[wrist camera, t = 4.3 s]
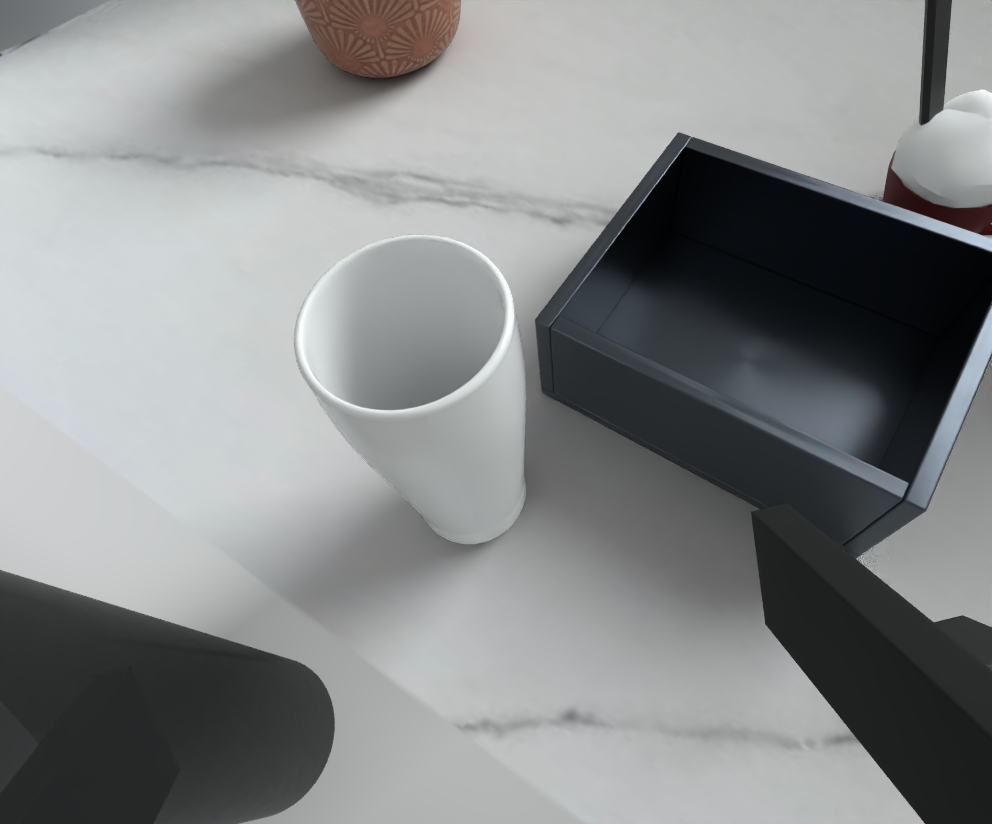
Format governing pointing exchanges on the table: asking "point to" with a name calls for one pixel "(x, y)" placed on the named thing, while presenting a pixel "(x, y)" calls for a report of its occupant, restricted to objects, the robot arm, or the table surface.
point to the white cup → (424, 377)
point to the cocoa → (944, 143)
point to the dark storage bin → (777, 338)
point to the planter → (381, 33)
